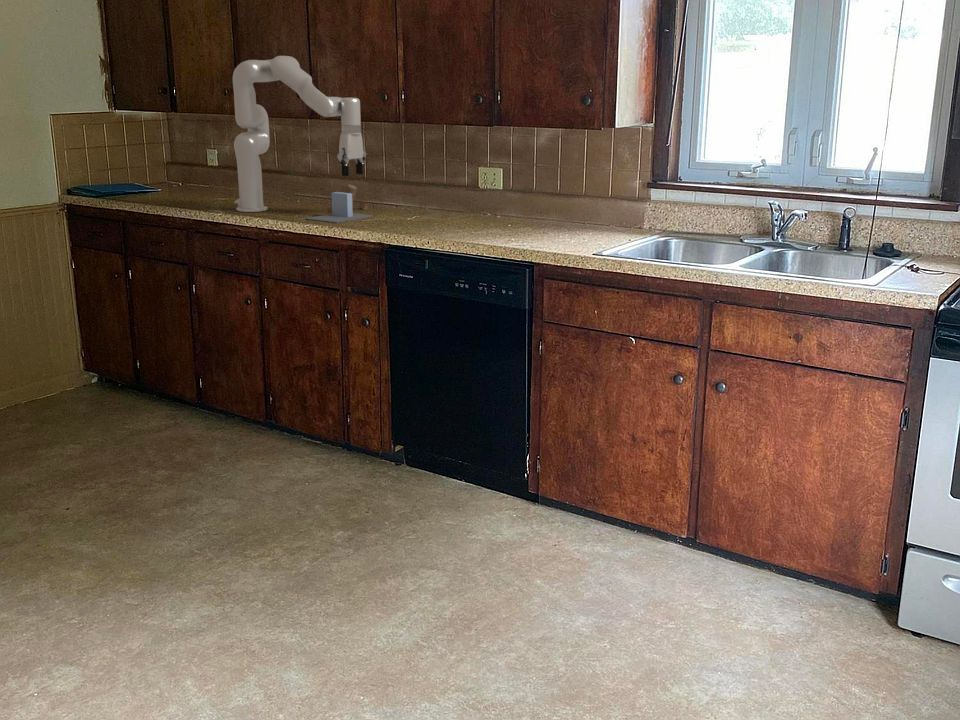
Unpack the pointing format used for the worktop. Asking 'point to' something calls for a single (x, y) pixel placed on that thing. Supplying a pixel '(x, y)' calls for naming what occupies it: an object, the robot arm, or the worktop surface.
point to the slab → (342, 204)
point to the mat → (339, 218)
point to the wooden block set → (352, 190)
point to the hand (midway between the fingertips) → (352, 174)
